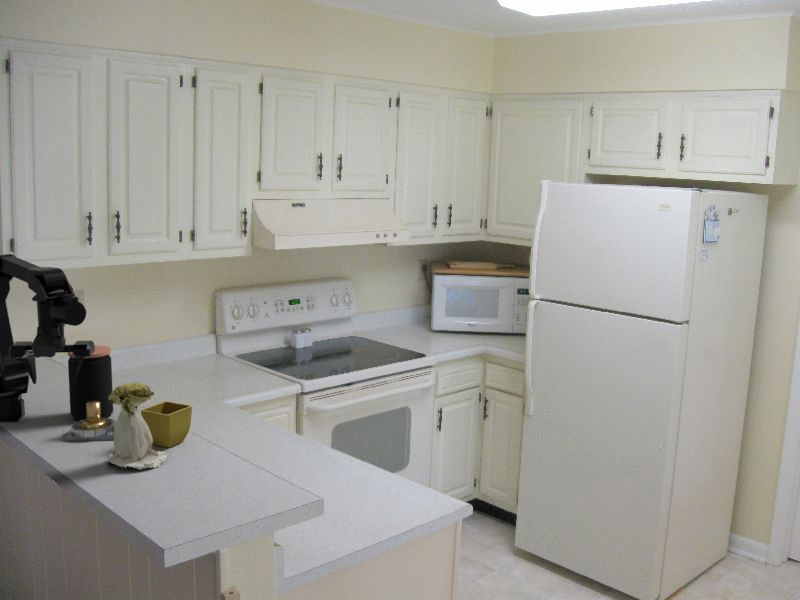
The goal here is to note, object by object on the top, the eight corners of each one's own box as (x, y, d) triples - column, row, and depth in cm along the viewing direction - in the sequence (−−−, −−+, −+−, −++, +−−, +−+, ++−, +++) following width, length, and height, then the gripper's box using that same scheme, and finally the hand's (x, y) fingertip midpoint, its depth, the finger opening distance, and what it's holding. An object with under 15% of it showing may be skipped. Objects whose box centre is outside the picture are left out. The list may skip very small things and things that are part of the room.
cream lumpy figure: (141, 475, 185) (137, 393, 182) (95, 466, 190) (91, 386, 187) (176, 458, 195) (173, 380, 192) (132, 450, 201) (128, 374, 198)
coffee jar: (121, 411, 230) (118, 346, 226) (100, 424, 219) (97, 356, 216) (84, 408, 231) (81, 344, 228) (62, 421, 221) (59, 353, 218)
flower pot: (141, 445, 204) (139, 409, 202) (166, 435, 211) (165, 400, 210) (169, 452, 200) (167, 415, 198) (194, 441, 207) (193, 405, 206)
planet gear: (79, 434, 207) (78, 406, 206) (81, 426, 214) (80, 399, 212) (106, 433, 209) (105, 405, 208) (108, 425, 215) (107, 398, 214)
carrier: (66, 441, 206) (65, 431, 205) (77, 427, 216) (76, 418, 216) (146, 439, 208) (146, 429, 208) (154, 425, 218) (153, 416, 218)
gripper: (-2, 327, 197) (3, 393, 200) (82, 326, 199) (85, 391, 202) (14, 318, 208) (18, 380, 211) (93, 317, 210) (96, 379, 213)
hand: (54, 383), depth 209 cm, fingers open, 9 cm apart
